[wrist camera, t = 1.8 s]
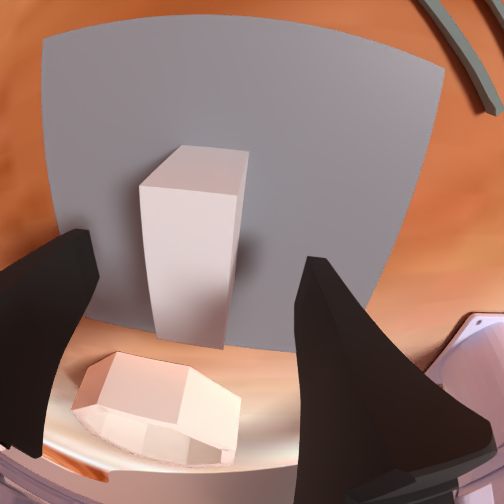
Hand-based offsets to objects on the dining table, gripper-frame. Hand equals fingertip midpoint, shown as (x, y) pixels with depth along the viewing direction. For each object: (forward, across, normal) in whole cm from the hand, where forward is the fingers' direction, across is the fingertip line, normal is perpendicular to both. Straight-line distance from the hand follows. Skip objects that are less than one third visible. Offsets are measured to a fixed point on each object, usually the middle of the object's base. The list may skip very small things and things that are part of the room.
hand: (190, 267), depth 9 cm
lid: (+4, 0, 0) cm, 4 cm away
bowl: (+3, +4, +18) cm, 19 cm away
